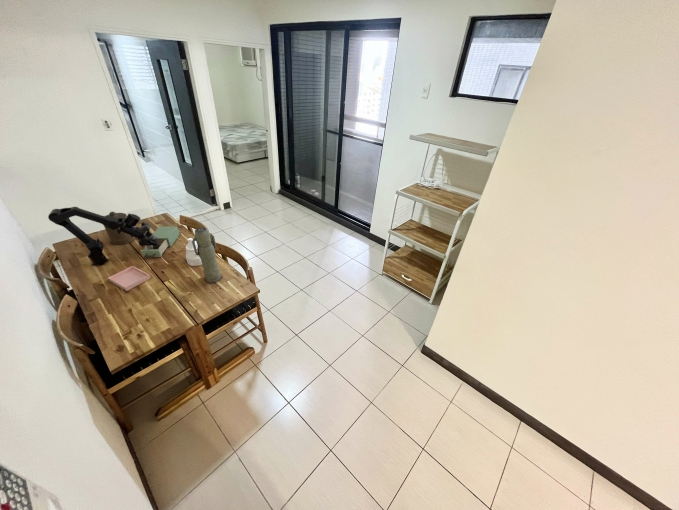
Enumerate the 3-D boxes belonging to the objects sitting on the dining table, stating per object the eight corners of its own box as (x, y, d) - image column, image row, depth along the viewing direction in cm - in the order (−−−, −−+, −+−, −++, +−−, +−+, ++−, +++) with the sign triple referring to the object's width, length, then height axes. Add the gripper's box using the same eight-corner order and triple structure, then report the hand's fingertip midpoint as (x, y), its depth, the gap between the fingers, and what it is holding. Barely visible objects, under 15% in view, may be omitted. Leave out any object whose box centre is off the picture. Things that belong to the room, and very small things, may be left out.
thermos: (226, 276, 172) (215, 228, 153) (208, 286, 164) (194, 236, 145) (218, 271, 177) (206, 223, 157) (200, 279, 169) (186, 230, 149)
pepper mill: (152, 250, 188) (146, 236, 182) (155, 246, 192) (149, 233, 185) (159, 250, 188) (154, 236, 182) (162, 246, 192) (157, 233, 186)
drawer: (158, 260, 181) (156, 253, 178) (140, 260, 179) (137, 254, 176) (170, 243, 198) (168, 237, 195) (153, 244, 196) (151, 237, 193)
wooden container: (133, 232, 209) (122, 205, 197) (138, 240, 201) (126, 213, 188) (109, 238, 201) (96, 211, 188) (113, 247, 192) (99, 219, 180)
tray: (109, 280, 163) (107, 277, 162) (134, 268, 174) (132, 265, 172) (126, 291, 157) (125, 287, 155) (150, 277, 167) (149, 274, 166)
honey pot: (203, 266, 180) (197, 243, 170) (183, 265, 179) (176, 242, 169) (211, 255, 190) (205, 233, 180) (192, 254, 190) (186, 232, 180)
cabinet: (170, 246, 196) (167, 238, 192) (152, 246, 195) (148, 238, 191) (179, 234, 211) (177, 226, 207) (162, 234, 209) (159, 226, 205)
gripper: (138, 227, 169) (164, 239, 180) (139, 215, 182) (163, 226, 193) (128, 241, 170) (154, 251, 181) (129, 228, 183) (154, 238, 194)
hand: (156, 241), depth 187 cm, fingers open, 9 cm apart
